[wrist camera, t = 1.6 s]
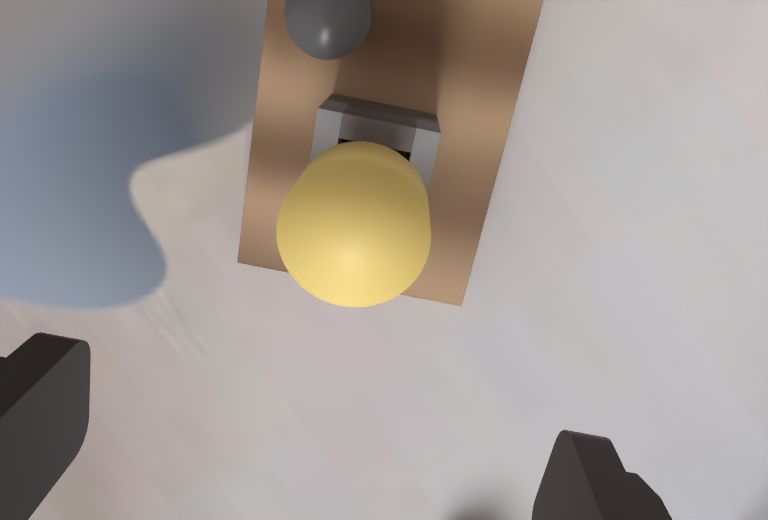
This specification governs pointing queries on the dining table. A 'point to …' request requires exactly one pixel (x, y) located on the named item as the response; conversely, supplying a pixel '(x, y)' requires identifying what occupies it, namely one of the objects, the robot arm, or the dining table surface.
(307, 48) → the pot post
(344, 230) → the knob
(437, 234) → the mount
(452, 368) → the dining table surface
